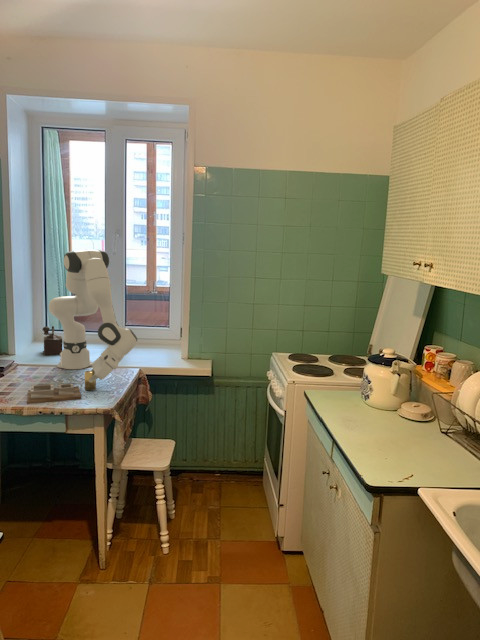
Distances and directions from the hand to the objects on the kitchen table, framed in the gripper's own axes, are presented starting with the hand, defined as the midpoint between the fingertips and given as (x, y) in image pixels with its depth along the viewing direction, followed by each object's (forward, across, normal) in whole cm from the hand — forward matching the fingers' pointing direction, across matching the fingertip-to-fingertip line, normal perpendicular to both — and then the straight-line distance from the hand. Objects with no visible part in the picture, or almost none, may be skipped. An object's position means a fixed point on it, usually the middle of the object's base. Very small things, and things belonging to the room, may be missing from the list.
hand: (88, 379), depth 227 cm
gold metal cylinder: (+3, 0, +4) cm, 4 cm away
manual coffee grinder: (+14, -75, -6) cm, 76 cm away
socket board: (+14, +4, -7) cm, 17 cm away
